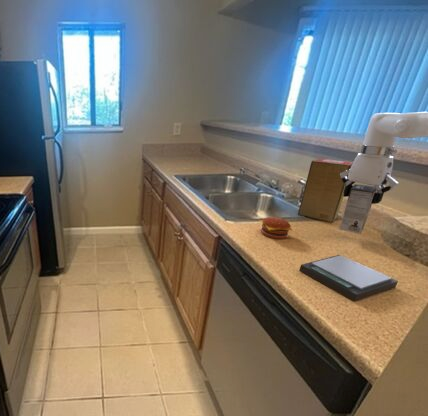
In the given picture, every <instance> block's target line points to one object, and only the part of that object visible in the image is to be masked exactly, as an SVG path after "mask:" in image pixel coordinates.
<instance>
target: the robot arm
mask: <svg viewBox="0 0 428 416" xmlns="http://www.w3.org/2000/svg"><path fill="white" fill-rule="evenodd" d="M397 138H399V139H416V138H428V111H418V112H417V111H416V112H405V113H403V112H402V113H399V112H377V113H374V114H373V115H372V116H371V117H370V119H369V121H368V126H367V129H366V133H365V136H364V139H363V143H362V146H361V149H360V152H359V153H357V154H356V156H355V158H354V160H353V161H352V162H353V164H352V166H351V169H350V170H348V171H345V172H342V173H340V176H341V178H342V181H343V183H344V186H345V189H344V192H343V193H344V195H343V198H346V197H347V198H348V197H349V193H350V190H351V188H352V187H353V186H354V185H355V184H356V183H358V184H362V185H367V186H375V188H376V193H374V196H373V200H372V205H377V204H379V203H380V202H382V200H383V197H384V194H385V193H387V192H389V191H391V190H393V189H394V188H396V187H397V186H399V185H400V182H399V181H397V179H395V178H394V177H393V176H392V172H393V167H394V156H392V155H393V154H394V155H395V154H397V153H398V149H395V142H396V139H397ZM348 174H349V175H348ZM347 175H348V178H347ZM386 185H387V186H386Z"/></svg>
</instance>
